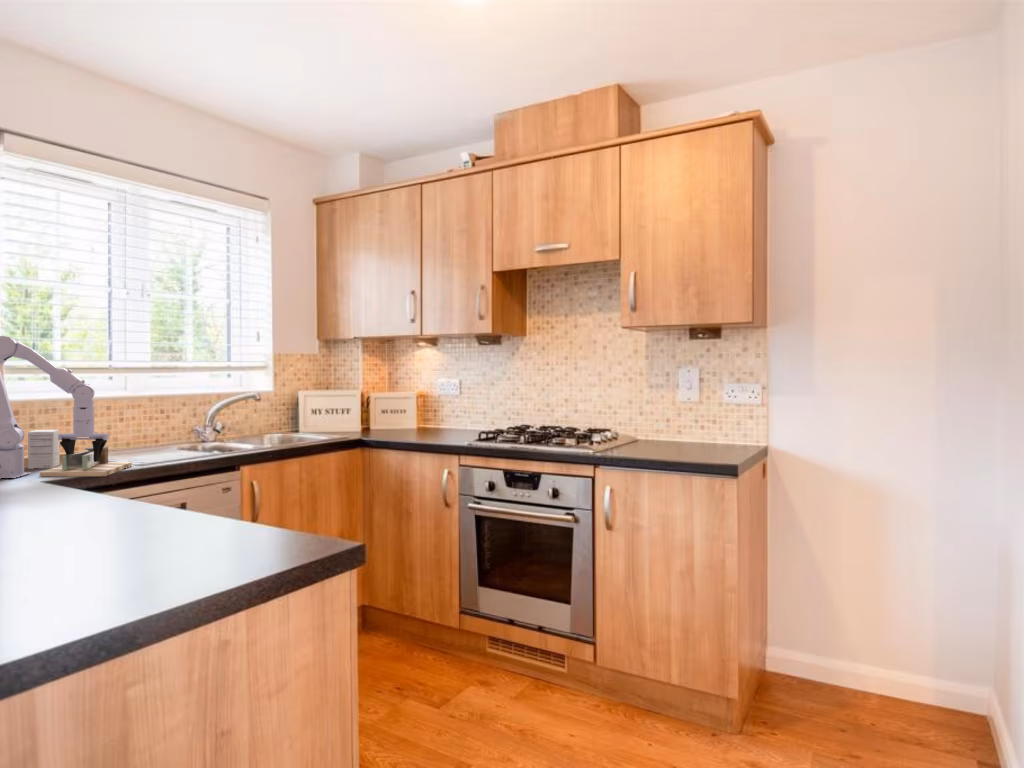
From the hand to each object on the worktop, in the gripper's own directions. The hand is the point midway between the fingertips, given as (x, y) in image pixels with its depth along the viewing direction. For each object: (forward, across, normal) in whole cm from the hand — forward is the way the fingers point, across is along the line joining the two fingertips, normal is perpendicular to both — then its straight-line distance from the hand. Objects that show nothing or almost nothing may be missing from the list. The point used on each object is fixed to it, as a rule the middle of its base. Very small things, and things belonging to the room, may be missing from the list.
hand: (83, 461), depth 207 cm
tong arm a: (+2, +2, +1) cm, 3 cm away
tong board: (+4, 0, +2) cm, 4 cm away
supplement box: (+4, -18, +12) cm, 22 cm away
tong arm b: (+2, -2, +1) cm, 3 cm away
